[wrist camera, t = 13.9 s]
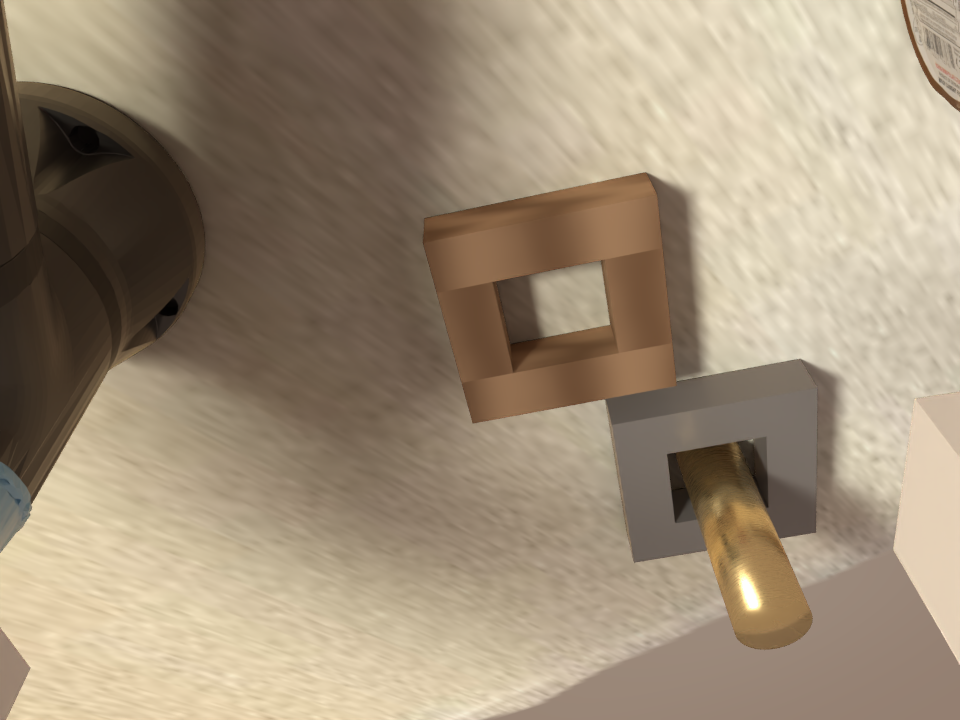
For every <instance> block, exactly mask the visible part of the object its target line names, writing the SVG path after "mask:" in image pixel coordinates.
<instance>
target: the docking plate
mask: <svg viewBox="0 0 960 720" xmlns="http://www.w3.org/2000/svg"><path fill="white" fill-rule="evenodd" d="M676 384H677V386H673V387H668V388H662V389H657V390H651V391H646V392H641V393H635V394H630V395H624V396H619V397H613V398H608V399H605V401H606V407H607V414H608V420H609V426H610V432H611V438H612V444H613V451H614V457H615V463H616V469H617V475H618V481H619V487H620V494H621V500H622V506H623V512H624V518H625V524H626V530H627V535H628V539H629V543H630V548H631V552H632V556H633V560H634V562H640V561H646V560H652V559H658V558H665V557H671V556H677V555H683V554H689V553H695V552H701V551H707V548H706V545H705V542H704V539H703V536H702V533H701V530H700V527H699V524H698V521H697V518H696V515H695V512H694V509H693V506H692V503H691V500H690V497H689V494H688V491H687V488H684V489H678V490H672V491H671V484H670V476H669V467H668V459H667V454H670V453H675V452H681V451H687V450H692V449H698V448H704V447H709V446H715V445H721V444H726V443H732V442H738V441H743V440H749V439H753V441H754V465H755V476H753V479H754V482H755V484H756V486H757V488H758V491H759V493H760V495H761V498H762V500H763V502H764V505H765V507H766V509H767V512H768V514H769V516H770V518H771V521H772V523H773V525H774V528H775V530H776V532H777V535H778V537H779V538H785V537H791V536H797V535H803V534H810V533H816V479H817V394H818V388H817V386H816V384H815V383H814V381H813V379H812V378H811V376H810V374H809V373H808V371H807V370H806V368H805V366H804V365H803V363H802V361H801V360H800V359H797V360H792V361H786V362H781V363H776V364H770V365H765V366H759V367H754V368H749V369H743V370H738V371H732V372H727V373H721V374H716V375H711V376H705V377H700V378H694V379H689V380H684V381H678V382H676Z"/></svg>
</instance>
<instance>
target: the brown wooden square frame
mask: <svg viewBox="0 0 960 720" xmlns="http://www.w3.org/2000/svg"><path fill="white" fill-rule="evenodd" d="M423 245H424V248H425V252H426V256H427V259H428V263H429V266H430V270H431V274H432V277H433V281H434V285H435V288H436V292H437V295H438V299H439V303H440V306H441V310H442V314H443V317H444V321H445V324H446V328H447V332H448V335H449V339H450V342H451V346H452V350H453V353H454V357H455V361H456V364H457V368H458V371H459V375H460V379H461V382H462V386H463V390H464V393H465V397H466V400H467V404H468V408H469V411H470V415H471V418H472V422H473V423H478V422H483V421H489V420H494V419H500V418H505V417H510V416H516V415H521V414H527V413H532V412H537V411H543V410H548V409H554V408H559V407H565V406H570V405H575V404H581V403H586V402H592V401H597V400H603V399H608V398H613V397H619V396H624V395H630V394H635V393H641V392H646V391H651V390H657V389H662V388H668V387H673V386H677V384H676V374H675V364H674V355H673V345H672V335H671V325H670V316H669V306H668V296H667V286H666V277H665V267H664V257H663V247H662V238H661V228H660V218H659V208H658V199H657V194H656V192H655V190H654V188H653V186H652V184H651V182H650V180H649V178H648V176H647V174H646V172H645V173H640V174H635V175H631V176H626V177H621V178H616V179H611V180H607V181H602V182H597V183H592V184H587V185H583V186H578V187H573V188H568V189H563V190H559V191H554V192H549V193H544V194H539V195H535V196H530V197H525V198H520V199H515V200H511V201H506V202H501V203H496V204H491V205H487V206H482V207H477V208H472V209H467V210H463V211H458V212H453V213H448V214H443V215H439V216H434V217H429V218H425V220H424V236H423ZM600 260H601V265H602V271H603V278H604V285H605V292H606V298H607V305H608V312H609V318H610V325H609V326H603V327H598V328H593V329H588V330H583V331H577V332H572V333H567V334H562V335H557V336H551V337H546V338H541V339H536V340H531V341H525V342H520V343H515V344H510V340H509V336H508V332H507V327H506V323H505V319H504V314H503V310H502V305H501V301H500V297H499V292H498V288H497V284H496V281H500V280H505V279H510V278H515V277H520V276H525V275H530V274H535V273H540V272H545V271H550V270H555V269H560V268H565V267H570V266H575V265H580V264H585V263H590V262H595V261H600Z"/></svg>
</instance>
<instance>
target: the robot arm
mask: <svg viewBox="0 0 960 720" xmlns="http://www.w3.org/2000/svg"><path fill="white" fill-rule="evenodd" d="M204 255H205V236H204V228H203V222H202V218H201V214H200V210H199V207H198V204H197V202H196V199H195V196H194V194H193V192H192V190H191V188H190V186H189V184H188V182H187V180H186V179H185V177H184V175H183V174H182V172H181V171H180V169H179V167H178V166H177V165H176V163H175V162H174V161H173V159H172V158H171V157H170V155H169V154H168V153H167V152H166V151H165V150H164V148H163V147H162V146H161V145H160V144H159V143H158V142H157V141H156V140H155V139H154V138H153V137H152V136H151V135H149V134H148V133H147V132H146V131H145V130H144V129H143V128H141V127H140V126H139V125H138V124H136V123H135V122H134V121H132V120H131V119H130V118H128V117H127V116H125V115H124V114H122V113H120V112H119V111H117V110H116V109H114V108H112V107H110V106H109V105H107V104H105V103H103V102H101V101H99V100H97V99H94V98H92V97H90V96H87V95H85V94H82V93H80V92H77V91H73V90H70V89H67V88H63V87H59V86H55V85H50V84H44V83H36V82H16V76H15V69H14V63H13V57H12V51H11V44H10V38H9V32H8V26H7V20H6V13H5V7H4V1H3V0H0V553H1V551H2V550H3V549H4V548H5V546H6V545H7V544H8V542H9V541H10V540H11V539H12V537H13V536H14V535H15V533H16V532H18V531H19V530H20V529H21V528H22V527H23V526H24V524H25V522H26V520H27V519H28V518H29V516H30V511H31V510H32V506H31V504H32V503H33V501H34V499H35V498H36V496H37V494H38V492H39V491H40V489H41V487H42V485H43V484H44V482H45V480H46V478H47V477H48V475H49V473H50V472H51V470H52V468H53V466H54V465H55V463H56V461H57V459H58V458H59V456H60V454H61V452H62V451H63V449H64V447H65V446H66V444H67V442H68V440H69V439H70V437H71V435H72V433H73V432H74V430H75V428H76V426H77V425H78V423H79V421H80V420H81V418H82V416H83V414H84V413H85V411H86V409H87V407H88V406H89V404H90V402H91V400H92V399H93V397H94V395H95V394H96V392H97V390H98V388H99V387H100V385H101V383H102V381H103V379H104V377H105V376H106V374H107V372H108V371H109V370H110V369H112V368H113V367H115V366H117V365H118V364H120V363H122V362H123V361H125V360H126V359H128V358H130V357H131V356H133V355H135V354H136V353H138V352H139V351H141V350H143V349H144V348H146V347H148V346H149V345H151V344H152V343H154V342H155V341H156V340H158V339H159V338H160V337H161V336H162V335H164V334H165V333H166V332H167V331H168V330H169V329H170V328H171V327H172V325H173V324H174V323H175V322H176V321H177V319H178V318H179V317H180V315H181V314H182V312H183V311H184V309H185V307H186V305H187V303H188V301H189V299H190V297H191V296H192V294H193V292H194V290H195V288H196V286H197V283H198V281H199V278H200V275H201V272H202V268H203V263H204ZM893 550H894V552H895V554H896V555H897V557H898V558H899V560H900V562H901V564H902V566H903V567H904V569H905V571H906V572H907V574H908V576H909V577H910V579H911V581H912V583H913V584H914V586H915V588H916V589H917V591H918V593H919V595H920V597H921V598H922V600H923V602H924V604H925V605H926V607H927V609H928V610H929V612H930V614H931V616H932V617H933V619H934V621H935V622H936V624H937V626H938V628H939V629H940V631H941V633H942V634H943V636H944V638H945V640H946V641H947V643H948V645H949V647H950V648H951V650H952V652H953V654H954V655H955V657H956V659H957V660H958V662H959V664H960V392H955V393H948V394H942V395H935V396H928V397H922V398H915V401H914V408H913V415H912V422H911V429H910V436H909V443H908V450H907V457H906V464H905V471H904V478H903V485H902V492H901V499H900V506H899V513H898V520H897V527H896V534H895V541H894V548H893ZM29 670H30V667H29V665H28V664H27V663H26V661H25V660H24V659H23V657H22V656H21V655H20V653H19V652H18V651H17V649H16V648H15V647H14V645H13V644H12V643H11V641H10V640H9V639H8V637H7V636H6V635H5V633H4V632H3V631H2V629H1V628H0V720H6V719H7V716H8V714H9V712H10V710H11V708H12V706H13V704H14V702H15V700H16V698H17V695H18V693H19V691H20V689H21V687H22V685H23V683H24V681H25V679H26V677H27V674H28V672H29Z"/></svg>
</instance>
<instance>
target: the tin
mask: <svg viewBox="0 0 960 720" xmlns="http://www.w3.org/2000/svg"><path fill="white" fill-rule="evenodd" d="M901 4H902V9H903V14H904V18H905V21H906V25H907V29H908V33H909V36H910V39H911V42H912V45H913V48H914V50H915V53H916V56H917V58H918V60H919V63H920V65H921V67H922V69H923V71H924V73H925V75H926V77H927V79H928V80H929V82H930V84H931V85H932V87H933V88H934V89H935V90H936V91H937V92H938V93H939V94H940V95H942V96H943V97H944V98H945V99H946V100H947V101H948V102H949V103H950V104H951V105H952V106H953V107H954V108H955V109H957V110H958V111H960V0H901Z"/></svg>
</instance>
